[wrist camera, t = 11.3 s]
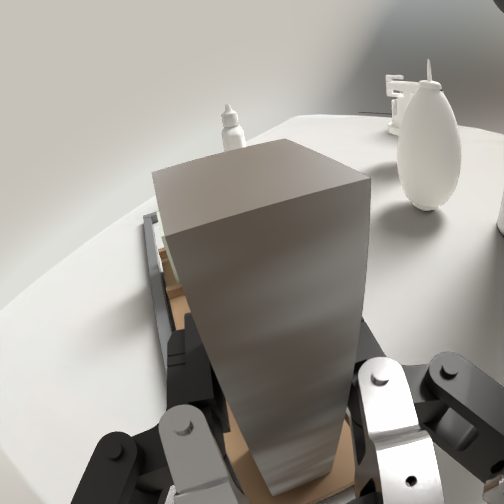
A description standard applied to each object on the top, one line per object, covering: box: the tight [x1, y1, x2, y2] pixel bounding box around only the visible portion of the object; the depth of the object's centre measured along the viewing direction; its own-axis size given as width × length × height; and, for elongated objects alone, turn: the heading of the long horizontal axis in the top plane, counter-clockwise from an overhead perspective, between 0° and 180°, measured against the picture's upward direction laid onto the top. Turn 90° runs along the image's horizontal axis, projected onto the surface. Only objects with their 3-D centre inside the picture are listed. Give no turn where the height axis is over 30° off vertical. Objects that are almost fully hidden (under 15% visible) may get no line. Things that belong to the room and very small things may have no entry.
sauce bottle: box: [397, 59, 461, 211], centre depth 30 cm, size 8×8×18 cm
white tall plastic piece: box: [386, 75, 420, 136], centre depth 43 cm, size 7×7×15 cm
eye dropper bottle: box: [221, 104, 246, 152], centre depth 47 cm, size 4×6×12 cm
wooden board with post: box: [152, 139, 371, 504], centre depth 18 cm, size 7×25×16 cm, turn 20°
